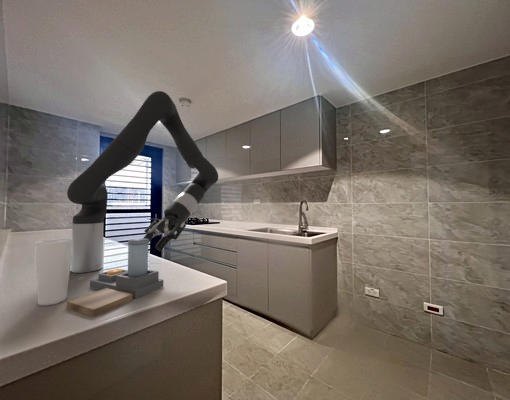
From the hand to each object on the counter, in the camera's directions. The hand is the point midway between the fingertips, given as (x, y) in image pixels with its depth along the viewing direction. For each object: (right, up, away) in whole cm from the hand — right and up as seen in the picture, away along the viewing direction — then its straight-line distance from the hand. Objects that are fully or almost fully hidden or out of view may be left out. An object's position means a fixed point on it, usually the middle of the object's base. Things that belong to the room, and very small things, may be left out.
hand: (149, 247), depth 65 cm
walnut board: (-6, -11, -12) cm, 17 cm away
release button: (-11, -9, +1) cm, 14 cm away
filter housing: (-6, -11, -1) cm, 13 cm away
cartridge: (-2, -9, -3) cm, 10 cm away
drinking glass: (-18, -11, -11) cm, 24 cm away
